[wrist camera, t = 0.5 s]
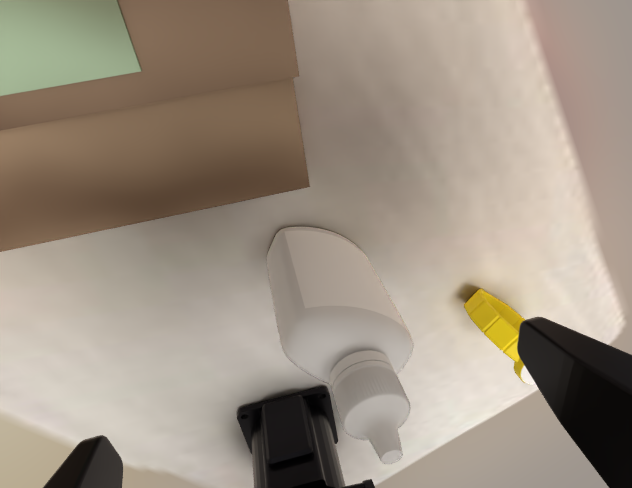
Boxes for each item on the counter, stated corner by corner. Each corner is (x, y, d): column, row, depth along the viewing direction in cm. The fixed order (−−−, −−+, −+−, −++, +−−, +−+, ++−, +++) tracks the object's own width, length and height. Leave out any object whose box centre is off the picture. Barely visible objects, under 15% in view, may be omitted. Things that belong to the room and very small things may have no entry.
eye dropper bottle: (317, 196, 21) (407, 376, 10) (373, 262, 23) (486, 454, 13) (253, 246, 21) (279, 460, 11) (314, 304, 24) (379, 516, 14)
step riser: (302, 171, 20) (319, 206, 16) (-38, 241, 18) (-100, 296, 15) (232, -249, 12) (235, -352, 9) (-348, -190, 11) (-622, -286, 7)
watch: (443, 299, 27) (489, 365, 21) (472, 269, 26) (527, 329, 20) (500, 333, 29) (554, 400, 24) (528, 306, 28) (591, 369, 23)
